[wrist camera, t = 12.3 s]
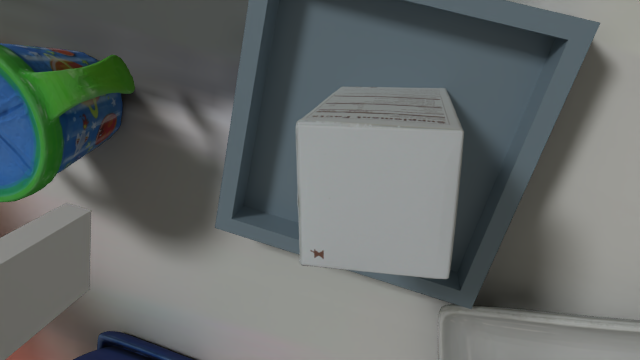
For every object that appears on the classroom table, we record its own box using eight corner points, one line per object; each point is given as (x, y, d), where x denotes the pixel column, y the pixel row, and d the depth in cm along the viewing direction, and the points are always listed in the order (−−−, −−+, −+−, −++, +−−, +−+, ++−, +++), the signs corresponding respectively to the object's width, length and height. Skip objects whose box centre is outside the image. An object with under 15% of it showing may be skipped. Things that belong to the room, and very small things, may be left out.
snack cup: (41, 172, 40) (-75, 219, 31) (-12, 56, 37) (-158, 69, 28) (188, 141, 36) (106, 184, 26) (142, 7, 33) (31, 2, 23)
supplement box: (439, 188, 32) (450, 287, 20) (337, 181, 33) (293, 269, 21) (449, 84, 29) (469, 129, 17) (339, 81, 30) (290, 120, 19)
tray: (232, 209, 37) (214, 227, 34) (275, -50, 29) (257, -59, 26) (466, 282, 35) (471, 309, 32) (578, 22, 27) (600, 22, 24)
